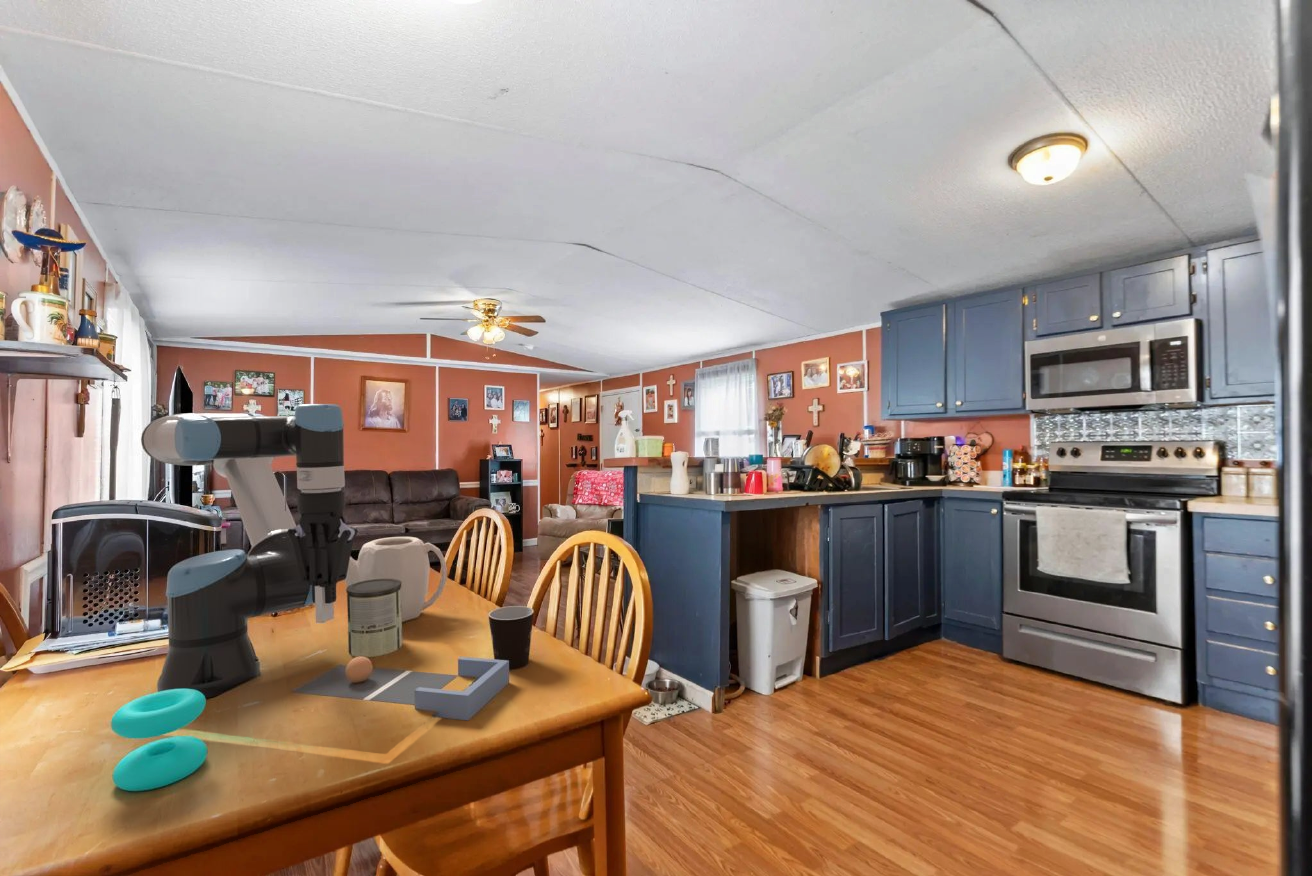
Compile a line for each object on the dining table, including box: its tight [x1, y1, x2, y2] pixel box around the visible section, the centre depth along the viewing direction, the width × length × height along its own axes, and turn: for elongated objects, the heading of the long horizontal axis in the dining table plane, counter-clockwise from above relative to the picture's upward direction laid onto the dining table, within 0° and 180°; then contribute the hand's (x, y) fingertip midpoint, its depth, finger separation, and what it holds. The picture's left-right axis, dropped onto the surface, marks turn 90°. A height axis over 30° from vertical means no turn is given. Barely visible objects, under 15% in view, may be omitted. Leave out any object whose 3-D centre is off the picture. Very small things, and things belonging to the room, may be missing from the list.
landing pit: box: [414, 656, 510, 721], centre depth 105 cm, size 10×14×4 cm, turn 167°
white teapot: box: [344, 536, 448, 623], centre depth 148 cm, size 16×27×19 cm, turn 101°
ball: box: [345, 656, 374, 683], centre depth 110 cm, size 4×4×4 cm
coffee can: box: [345, 579, 403, 658], centre depth 126 cm, size 10×10×14 cm
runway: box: [290, 664, 459, 706], centre depth 109 cm, size 25×12×1 cm, turn 77°
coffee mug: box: [487, 605, 535, 671], centre depth 122 cm, size 12×9×10 cm
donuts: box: [110, 689, 208, 792], centre depth 83 cm, size 10×10×10 cm
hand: (324, 620), depth 111 cm, fingers closed
